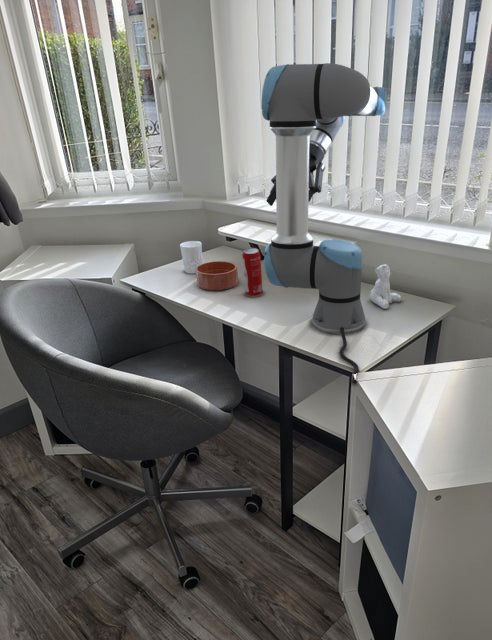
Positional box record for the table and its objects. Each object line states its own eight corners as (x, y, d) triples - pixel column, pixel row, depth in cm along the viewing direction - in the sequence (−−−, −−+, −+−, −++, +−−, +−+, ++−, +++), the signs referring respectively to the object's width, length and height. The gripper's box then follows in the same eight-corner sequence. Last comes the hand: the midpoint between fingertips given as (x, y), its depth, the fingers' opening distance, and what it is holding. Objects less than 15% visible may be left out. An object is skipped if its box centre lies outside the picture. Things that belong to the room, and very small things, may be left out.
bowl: (232, 292, 182) (230, 275, 178) (192, 290, 184) (190, 273, 181) (242, 278, 193) (241, 261, 190) (204, 276, 196) (202, 260, 193)
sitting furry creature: (385, 310, 164) (388, 272, 158) (362, 303, 169) (364, 266, 163) (402, 301, 170) (406, 263, 164) (379, 294, 175) (382, 258, 169)
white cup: (179, 273, 200) (176, 246, 194) (188, 266, 206) (185, 240, 201) (199, 274, 198) (196, 247, 192) (207, 268, 204) (204, 241, 199)
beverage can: (263, 290, 182) (261, 246, 174) (261, 298, 176) (259, 252, 168) (246, 290, 182) (243, 246, 174) (243, 298, 177) (240, 252, 169)
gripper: (350, 160, 170) (318, 219, 169) (292, 154, 185) (263, 207, 184) (340, 144, 164) (307, 204, 163) (281, 139, 179) (251, 194, 179)
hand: (283, 206), depth 174 cm, fingers open, 13 cm apart
